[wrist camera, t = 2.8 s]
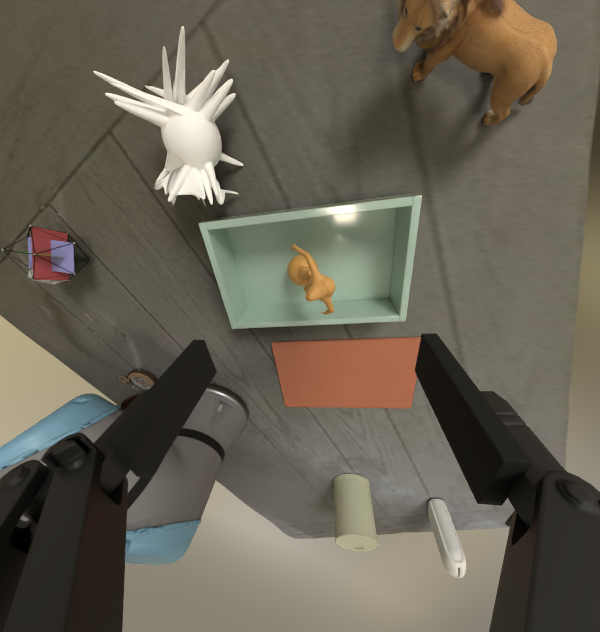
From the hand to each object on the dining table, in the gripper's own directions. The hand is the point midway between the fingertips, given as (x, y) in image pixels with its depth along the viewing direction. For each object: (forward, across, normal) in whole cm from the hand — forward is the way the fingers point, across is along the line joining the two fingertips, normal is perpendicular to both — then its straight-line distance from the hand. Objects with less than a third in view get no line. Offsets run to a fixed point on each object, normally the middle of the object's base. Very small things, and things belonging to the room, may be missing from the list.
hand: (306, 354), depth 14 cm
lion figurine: (+19, +13, +16) cm, 28 cm away
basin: (+19, -1, 0) cm, 19 cm away
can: (+19, +4, -59) cm, 62 cm away
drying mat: (+19, +3, -21) cm, 28 cm away
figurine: (+19, -1, 0) cm, 19 cm away
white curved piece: (+19, +26, -68) cm, 76 cm away
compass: (+19, -39, -22) cm, 48 cm away
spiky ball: (+19, -12, +15) cm, 27 cm away
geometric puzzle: (+19, -36, +5) cm, 41 cm away
